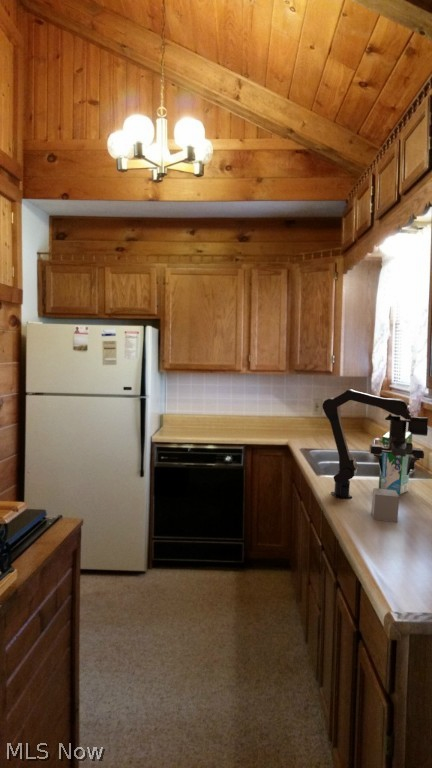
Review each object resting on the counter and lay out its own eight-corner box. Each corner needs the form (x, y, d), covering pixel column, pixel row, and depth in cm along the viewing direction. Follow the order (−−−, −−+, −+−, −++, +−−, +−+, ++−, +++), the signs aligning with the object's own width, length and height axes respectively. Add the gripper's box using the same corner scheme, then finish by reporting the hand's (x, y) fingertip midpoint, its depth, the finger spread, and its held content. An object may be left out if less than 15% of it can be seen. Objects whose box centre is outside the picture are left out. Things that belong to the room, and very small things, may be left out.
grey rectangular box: (371, 511, 165) (373, 487, 164) (393, 514, 163) (395, 490, 163) (373, 519, 158) (375, 494, 157) (397, 522, 156) (399, 496, 155)
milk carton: (378, 489, 193) (382, 431, 191) (386, 485, 200) (391, 429, 198) (399, 495, 187) (404, 434, 185) (408, 490, 194) (412, 432, 192)
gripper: (373, 434, 167) (370, 476, 168) (429, 438, 162) (425, 482, 164) (370, 429, 177) (367, 469, 179) (422, 433, 173) (419, 474, 174)
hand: (394, 473), depth 174 cm, fingers open, 9 cm apart
